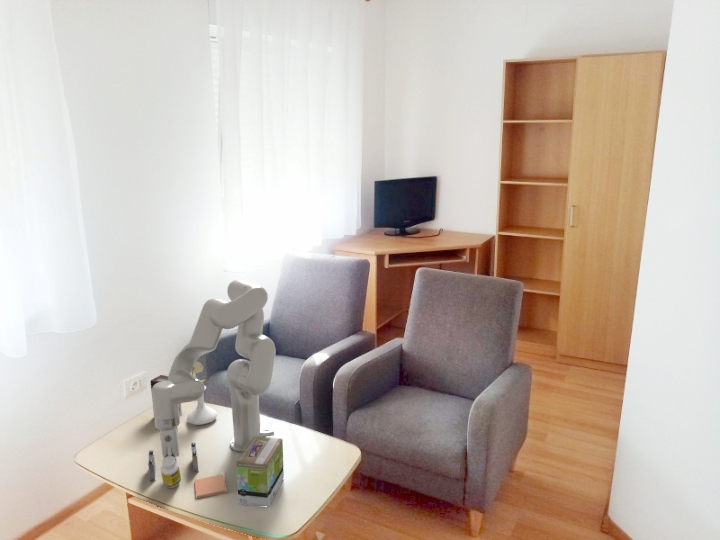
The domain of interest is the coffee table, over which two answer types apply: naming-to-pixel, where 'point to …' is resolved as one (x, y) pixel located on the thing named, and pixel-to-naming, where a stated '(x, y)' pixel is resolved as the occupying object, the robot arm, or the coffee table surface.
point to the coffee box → (160, 379)
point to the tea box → (260, 471)
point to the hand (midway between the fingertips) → (171, 471)
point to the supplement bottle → (170, 472)
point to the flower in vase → (200, 405)
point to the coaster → (210, 486)
